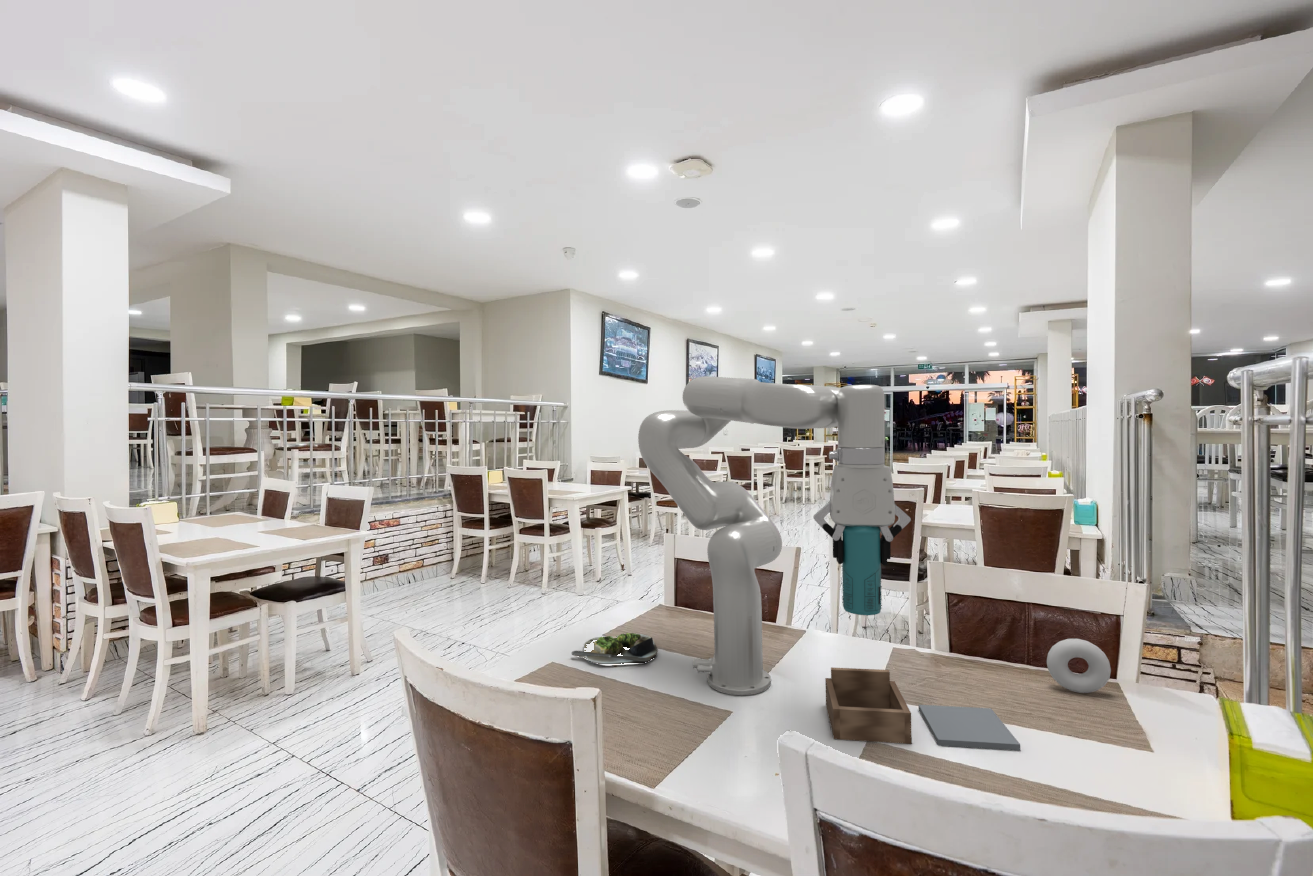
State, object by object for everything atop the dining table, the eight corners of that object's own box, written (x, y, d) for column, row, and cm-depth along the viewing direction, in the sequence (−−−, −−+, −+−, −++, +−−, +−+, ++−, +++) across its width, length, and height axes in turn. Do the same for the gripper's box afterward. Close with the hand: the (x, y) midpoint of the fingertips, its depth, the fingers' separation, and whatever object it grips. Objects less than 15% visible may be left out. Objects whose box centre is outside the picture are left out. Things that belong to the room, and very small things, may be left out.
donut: (1108, 692, 113) (1108, 639, 112) (1113, 700, 109) (1113, 645, 109) (1045, 684, 117) (1044, 632, 117) (1048, 691, 114) (1047, 638, 113)
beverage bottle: (885, 625, 99) (885, 504, 99) (843, 623, 101) (842, 504, 100) (878, 613, 106) (878, 499, 105) (839, 611, 107) (839, 498, 106)
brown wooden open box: (833, 739, 98) (833, 696, 98) (825, 705, 110) (825, 667, 110) (911, 744, 96) (910, 700, 96) (894, 708, 108) (894, 670, 108)
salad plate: (572, 675, 127) (571, 654, 127) (570, 645, 144) (570, 626, 144) (663, 667, 130) (662, 646, 130) (650, 639, 147) (650, 620, 147)
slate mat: (938, 745, 96) (938, 739, 96) (918, 710, 108) (918, 704, 107) (1020, 750, 94) (1020, 744, 94) (991, 714, 105) (991, 708, 105)
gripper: (810, 459, 100) (810, 566, 101) (920, 459, 97) (920, 569, 98) (806, 456, 107) (807, 556, 108) (909, 456, 105) (909, 559, 105)
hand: (861, 561), depth 103 cm, fingers closed on beverage bottle, 6 cm apart
